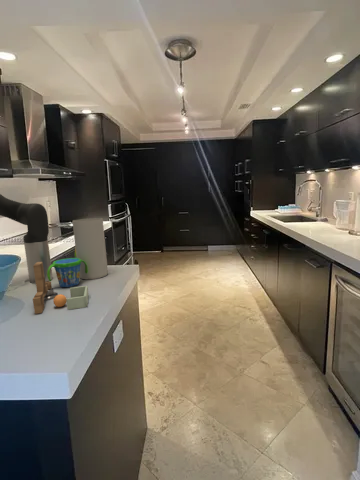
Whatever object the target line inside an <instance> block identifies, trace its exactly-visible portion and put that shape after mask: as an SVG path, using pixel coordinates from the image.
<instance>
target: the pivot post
mask: <svg viewBox="0 0 360 480" xmlns="http://www.w3.org/2000/svg"><path fill="white" fill-rule="evenodd" d="M57 295H59V294H58V292H57V291H54V287H52V288H51V289H48V291H47V293H46V294H45V296H44V301H50V300H52V299H53V300H54V298H55V296H57Z"/></svg>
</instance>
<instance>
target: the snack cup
mask: <svg viewBox="0 0 360 480" xmlns="http://www.w3.org/2000/svg"><path fill="white" fill-rule="evenodd" d="M81 262H83V263H84V264H85V273H88V266H87V264H86V262H85V261H83V260H81V259H79V258H75V257H70V258H69V257H67V258H62V259H57V260H54V261H53V262H52V263H51V265H50V266H49V268H48V271H47V277H48V279H49V281H48V282H51V281H52V280H51V279H50V269H51V268H52V269H53V268H54V270H55V275H56V278H57V282H58V284H59V287H60V288H73V287H75V286H78V285H79V284H80V279H81V278H80V265H81Z"/></svg>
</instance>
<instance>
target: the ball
mask: <svg viewBox="0 0 360 480" xmlns="http://www.w3.org/2000/svg"><path fill="white" fill-rule="evenodd" d="M66 299H67V296H66V295H64V294H58V295H57V296H55V298H53V304H54V306H55V307H57V308H61V307H64V306H65V305H67V301H66Z"/></svg>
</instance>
